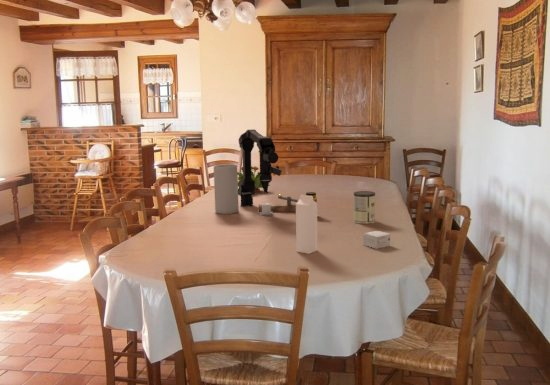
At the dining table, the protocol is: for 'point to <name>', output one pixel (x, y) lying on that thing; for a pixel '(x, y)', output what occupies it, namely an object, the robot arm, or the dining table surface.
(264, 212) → the cap block
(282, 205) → the plane body
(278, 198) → the lever
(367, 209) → the coffee can
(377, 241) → the small box
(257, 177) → the potted flower
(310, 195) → the condiment
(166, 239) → the dining table surface
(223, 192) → the cylinder vase
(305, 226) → the milk
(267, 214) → the rubber mat
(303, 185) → the dining table surface
